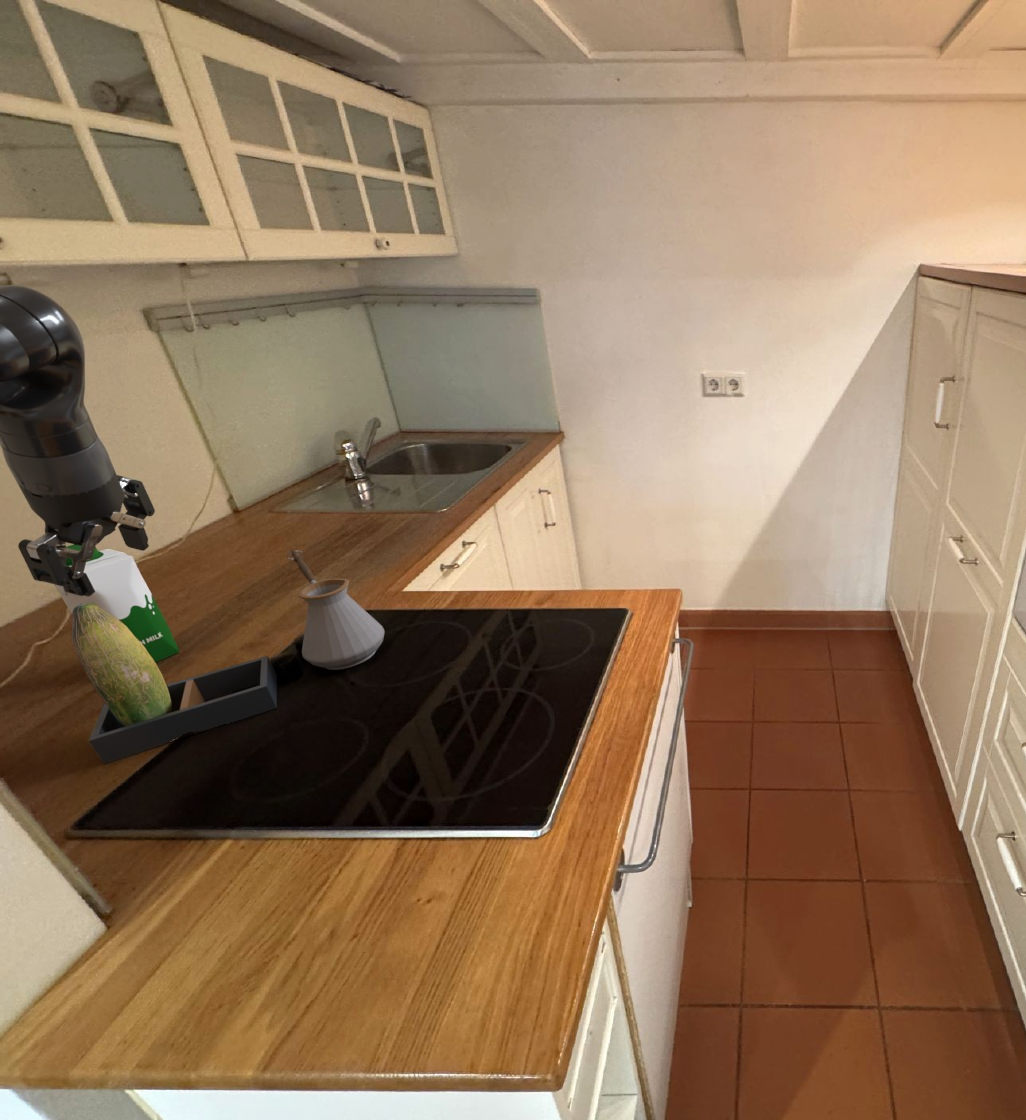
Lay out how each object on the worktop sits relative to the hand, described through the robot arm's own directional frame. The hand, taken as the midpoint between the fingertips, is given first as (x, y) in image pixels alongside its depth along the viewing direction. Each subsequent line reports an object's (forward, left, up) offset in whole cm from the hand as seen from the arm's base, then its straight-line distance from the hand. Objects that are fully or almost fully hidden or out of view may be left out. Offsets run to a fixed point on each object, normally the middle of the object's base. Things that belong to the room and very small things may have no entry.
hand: (111, 569), depth 78 cm
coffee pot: (+19, +7, -24) cm, 31 cm away
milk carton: (-8, +23, -24) cm, 34 cm away
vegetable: (-3, -2, -24) cm, 24 cm away
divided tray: (+1, -2, -23) cm, 23 cm away
